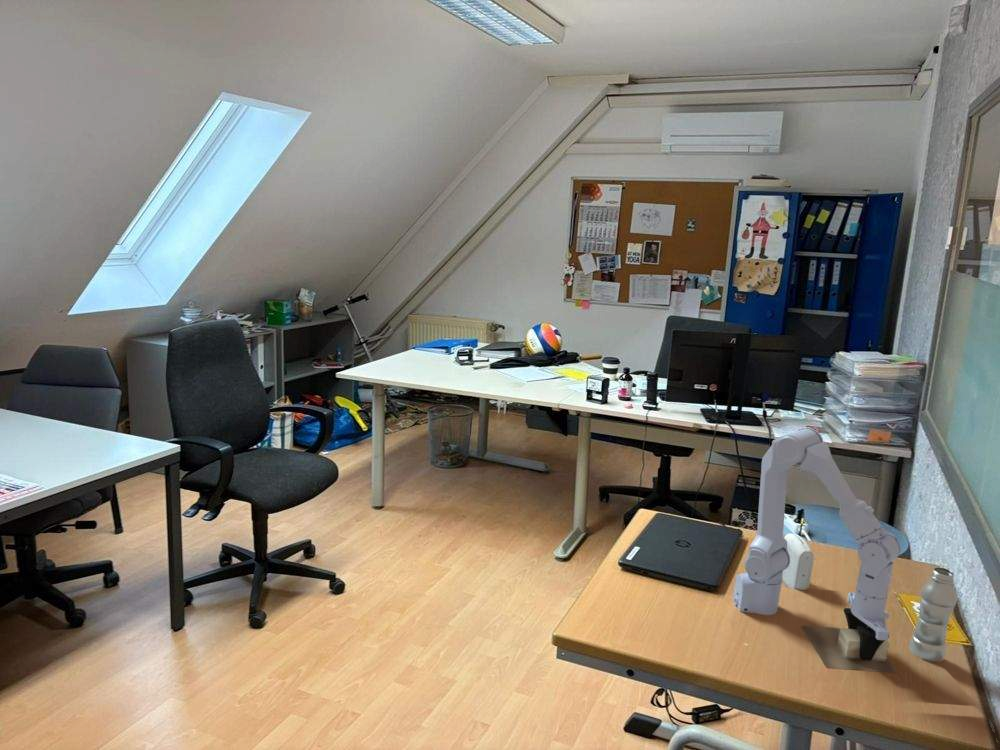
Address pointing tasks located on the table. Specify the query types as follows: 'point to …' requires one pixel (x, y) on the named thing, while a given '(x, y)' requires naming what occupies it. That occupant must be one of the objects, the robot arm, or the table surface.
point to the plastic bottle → (934, 616)
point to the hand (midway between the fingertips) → (860, 651)
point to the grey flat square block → (834, 658)
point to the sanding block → (858, 645)
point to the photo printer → (798, 563)
